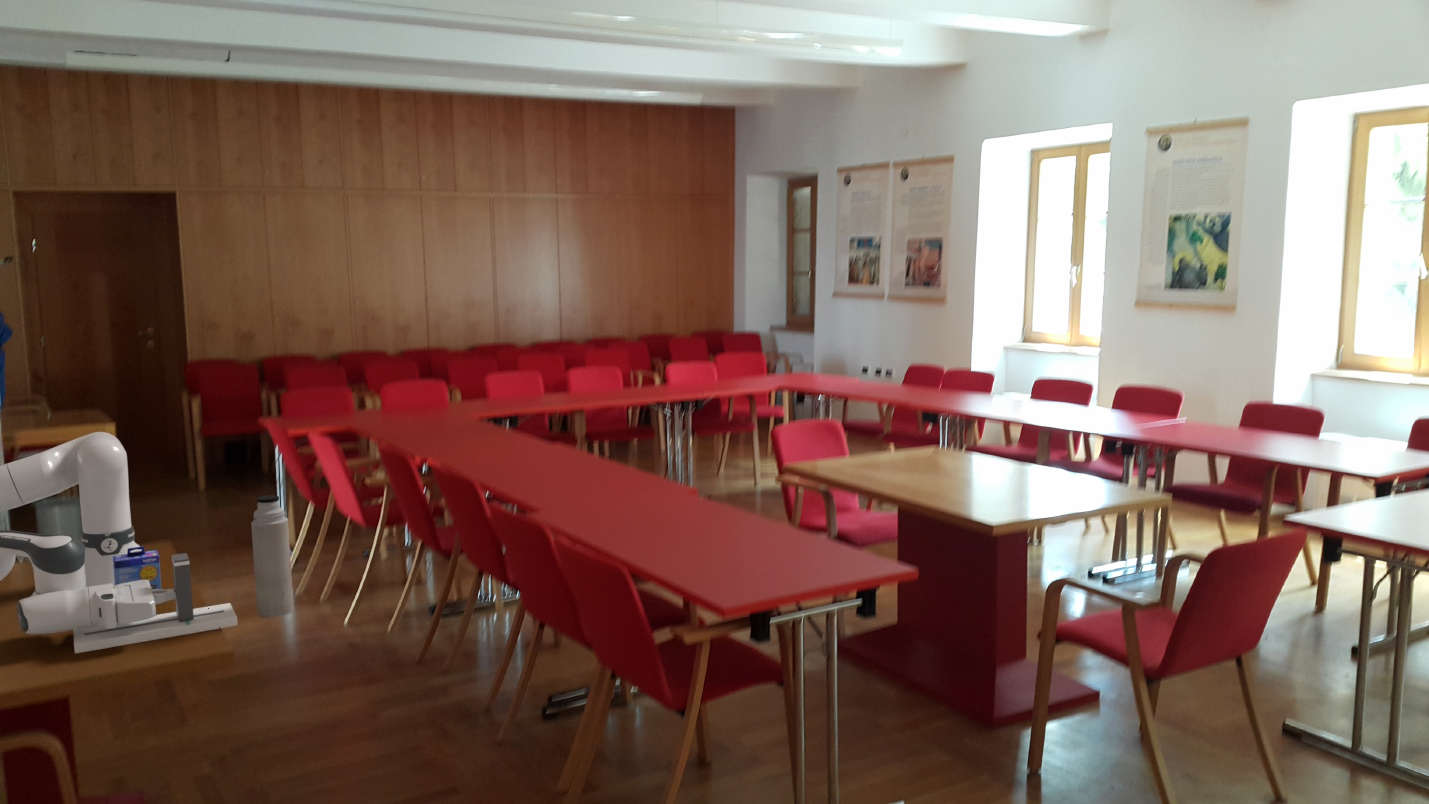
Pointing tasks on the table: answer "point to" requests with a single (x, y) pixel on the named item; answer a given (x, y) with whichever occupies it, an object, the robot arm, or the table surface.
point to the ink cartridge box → (137, 567)
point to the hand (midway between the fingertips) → (175, 593)
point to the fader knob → (182, 586)
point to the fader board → (154, 628)
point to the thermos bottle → (272, 559)
